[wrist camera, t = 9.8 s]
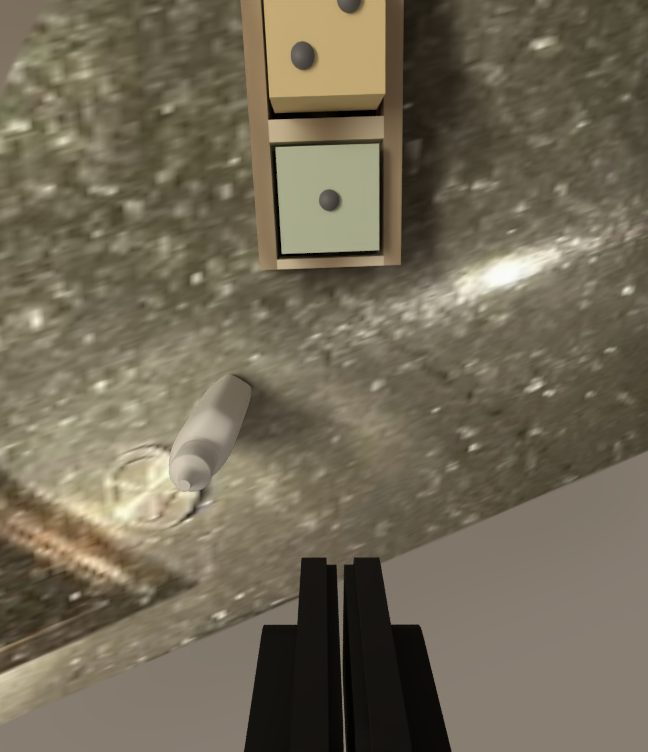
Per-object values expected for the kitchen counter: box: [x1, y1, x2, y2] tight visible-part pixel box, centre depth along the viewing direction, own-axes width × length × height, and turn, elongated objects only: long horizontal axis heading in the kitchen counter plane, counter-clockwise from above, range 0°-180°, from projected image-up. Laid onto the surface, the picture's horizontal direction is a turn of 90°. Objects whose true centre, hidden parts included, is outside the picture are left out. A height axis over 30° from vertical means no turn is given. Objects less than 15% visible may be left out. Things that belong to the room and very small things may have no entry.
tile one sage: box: [276, 144, 379, 254], centre depth 31 cm, size 6×6×4 cm
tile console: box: [241, 0, 404, 270], centre depth 29 cm, size 9×24×4 cm, turn 2°
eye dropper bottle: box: [169, 374, 252, 492], centre depth 32 cm, size 4×6×12 cm
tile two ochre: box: [264, 0, 385, 113], centre depth 26 cm, size 6×6×4 cm
